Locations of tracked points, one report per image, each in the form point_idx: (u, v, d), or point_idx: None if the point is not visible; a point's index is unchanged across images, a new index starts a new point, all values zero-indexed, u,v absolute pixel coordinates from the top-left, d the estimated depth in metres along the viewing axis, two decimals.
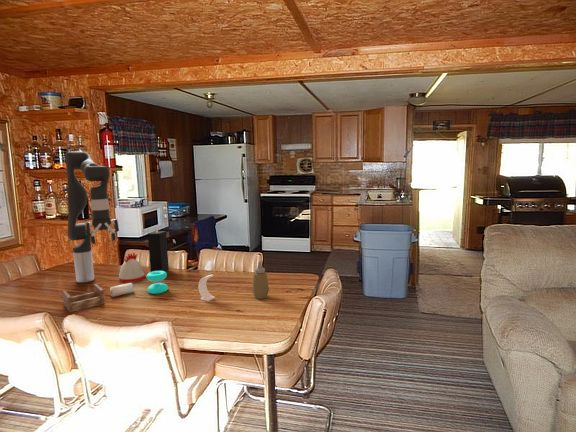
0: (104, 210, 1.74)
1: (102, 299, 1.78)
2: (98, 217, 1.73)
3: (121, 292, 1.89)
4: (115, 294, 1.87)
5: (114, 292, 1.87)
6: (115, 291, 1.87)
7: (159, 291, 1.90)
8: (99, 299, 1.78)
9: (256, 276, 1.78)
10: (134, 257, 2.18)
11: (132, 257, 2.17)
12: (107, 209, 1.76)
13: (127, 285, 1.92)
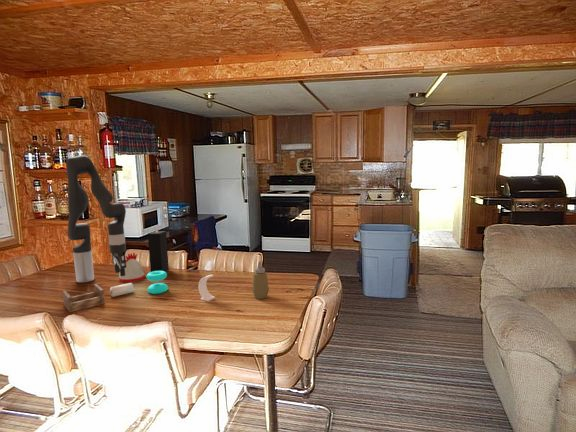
0: None
1: (102, 299, 1.78)
2: (125, 249, 1.89)
3: (121, 292, 1.89)
4: (115, 294, 1.87)
5: (114, 292, 1.87)
6: (115, 291, 1.87)
7: (159, 291, 1.90)
8: (99, 299, 1.78)
9: (256, 276, 1.78)
10: (134, 257, 2.18)
11: (132, 257, 2.17)
12: None
13: (127, 285, 1.91)
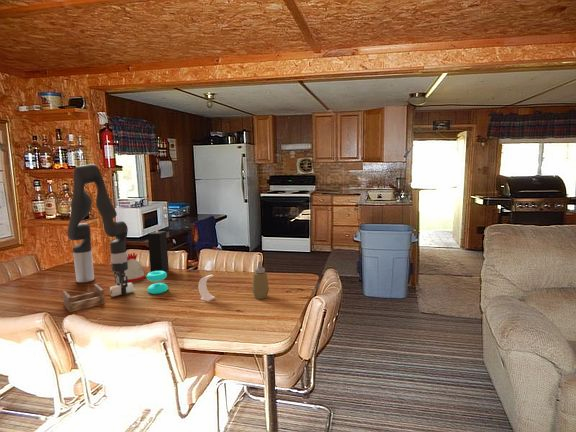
0: None
1: (102, 299, 1.78)
2: (127, 267, 1.90)
3: None
4: (115, 294, 1.87)
5: (114, 292, 1.87)
6: (115, 291, 1.87)
7: (159, 291, 1.90)
8: (99, 299, 1.78)
9: (256, 276, 1.78)
10: (134, 257, 2.18)
11: (132, 257, 2.17)
12: None
13: None
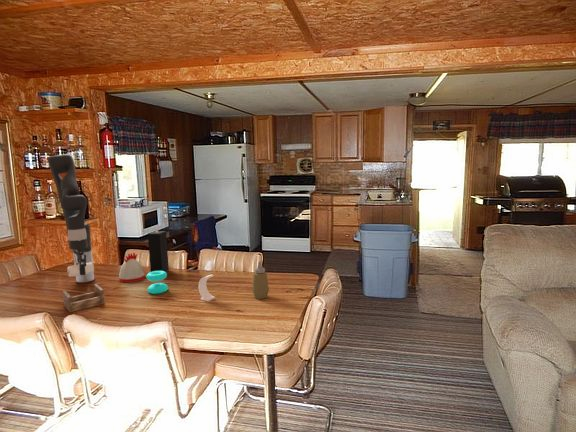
0: None
1: (102, 299, 1.78)
2: (87, 245, 1.75)
3: (79, 272, 1.74)
4: (72, 274, 1.72)
5: (71, 271, 1.71)
6: (72, 270, 1.72)
7: (159, 291, 1.90)
8: (99, 299, 1.78)
9: (256, 276, 1.78)
10: (134, 257, 2.18)
11: (132, 257, 2.17)
12: None
13: (87, 264, 1.76)
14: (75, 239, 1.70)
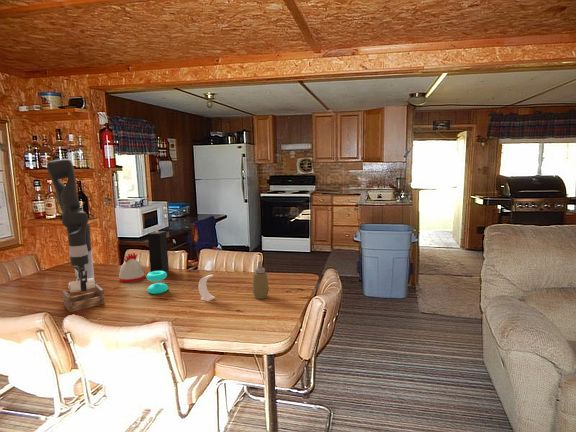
0: None
1: (102, 299, 1.78)
2: (88, 261, 1.76)
3: None
4: (74, 290, 1.73)
5: (72, 288, 1.72)
6: (74, 286, 1.73)
7: (159, 291, 1.90)
8: (99, 299, 1.78)
9: (256, 276, 1.78)
10: (134, 257, 2.18)
11: (132, 257, 2.17)
12: None
13: (88, 280, 1.77)
14: (76, 255, 1.71)
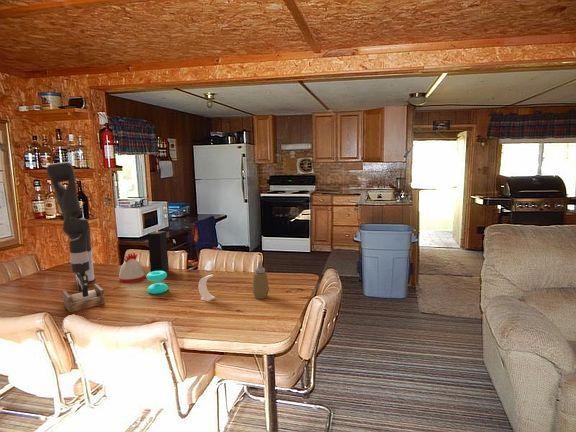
0: None
1: (102, 299, 1.78)
2: (89, 268, 1.77)
3: None
4: None
5: (74, 300, 1.73)
6: (75, 299, 1.74)
7: (159, 291, 1.90)
8: (99, 299, 1.78)
9: (256, 276, 1.78)
10: (134, 257, 2.18)
11: (132, 257, 2.17)
12: None
13: (89, 292, 1.78)
14: (77, 262, 1.72)
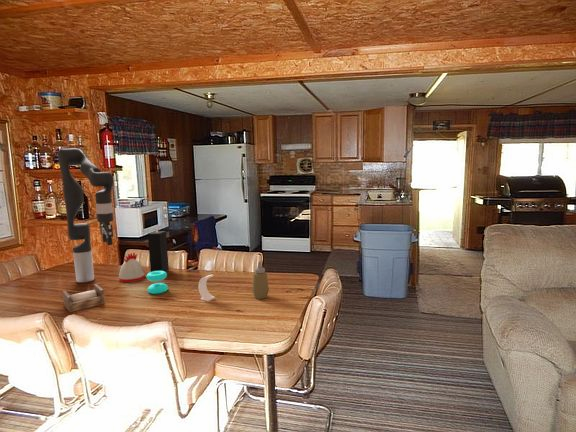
0: None
1: (102, 299, 1.78)
2: (113, 218, 1.89)
3: None
4: None
5: (74, 300, 1.73)
6: (75, 299, 1.74)
7: (159, 291, 1.90)
8: (99, 299, 1.78)
9: (256, 276, 1.78)
10: (134, 257, 2.18)
11: (132, 257, 2.17)
12: None
13: (89, 293, 1.78)
14: (103, 212, 1.85)
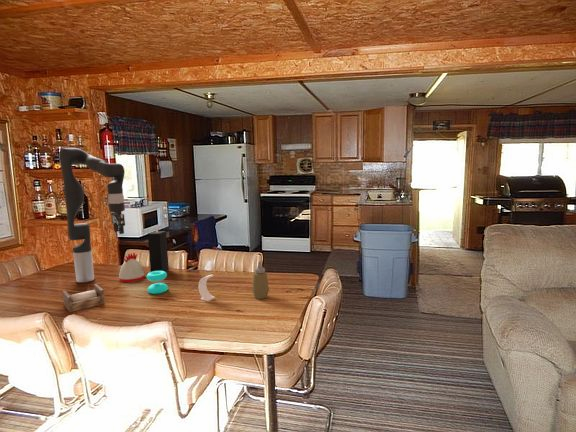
0: None
1: (102, 299, 1.78)
2: (124, 208, 1.96)
3: None
4: None
5: (74, 300, 1.73)
6: (75, 299, 1.74)
7: (159, 291, 1.90)
8: (99, 299, 1.78)
9: (256, 276, 1.78)
10: (134, 257, 2.18)
11: (132, 257, 2.17)
12: None
13: (89, 293, 1.78)
14: (115, 202, 1.92)
